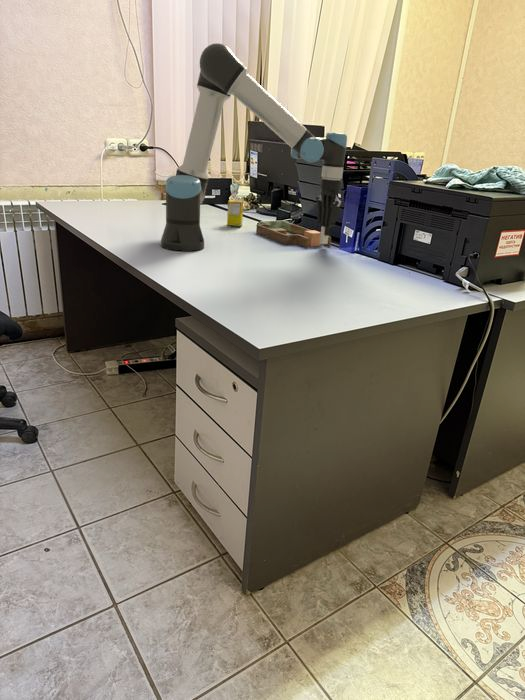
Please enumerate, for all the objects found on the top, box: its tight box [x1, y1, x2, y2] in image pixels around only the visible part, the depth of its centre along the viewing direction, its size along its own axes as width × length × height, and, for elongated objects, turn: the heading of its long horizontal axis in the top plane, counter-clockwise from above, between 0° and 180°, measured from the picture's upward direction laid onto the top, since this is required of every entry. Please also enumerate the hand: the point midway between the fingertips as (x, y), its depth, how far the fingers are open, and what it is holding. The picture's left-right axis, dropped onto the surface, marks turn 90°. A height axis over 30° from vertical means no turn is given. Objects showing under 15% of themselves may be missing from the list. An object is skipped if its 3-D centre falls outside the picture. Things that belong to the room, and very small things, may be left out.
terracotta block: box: [304, 229, 322, 247], centre depth 197 cm, size 5×5×5 cm
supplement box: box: [226, 198, 244, 228], centre depth 218 cm, size 6×6×11 cm
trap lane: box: [255, 220, 332, 248], centre depth 206 cm, size 17×34×4 cm, turn 32°
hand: (323, 243), depth 192 cm, fingers closed
